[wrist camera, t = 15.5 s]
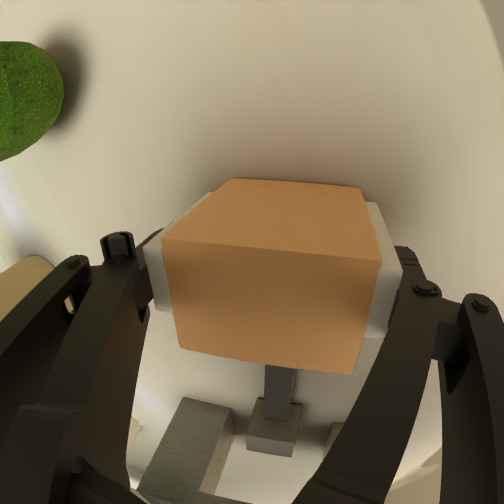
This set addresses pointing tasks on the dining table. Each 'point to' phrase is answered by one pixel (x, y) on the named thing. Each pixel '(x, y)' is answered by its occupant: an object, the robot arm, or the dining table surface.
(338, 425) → the housing
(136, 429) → the white angled block
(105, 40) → the dining table surface
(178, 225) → the plug
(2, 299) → the coffee cup
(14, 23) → the dining table surface
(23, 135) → the avocado
